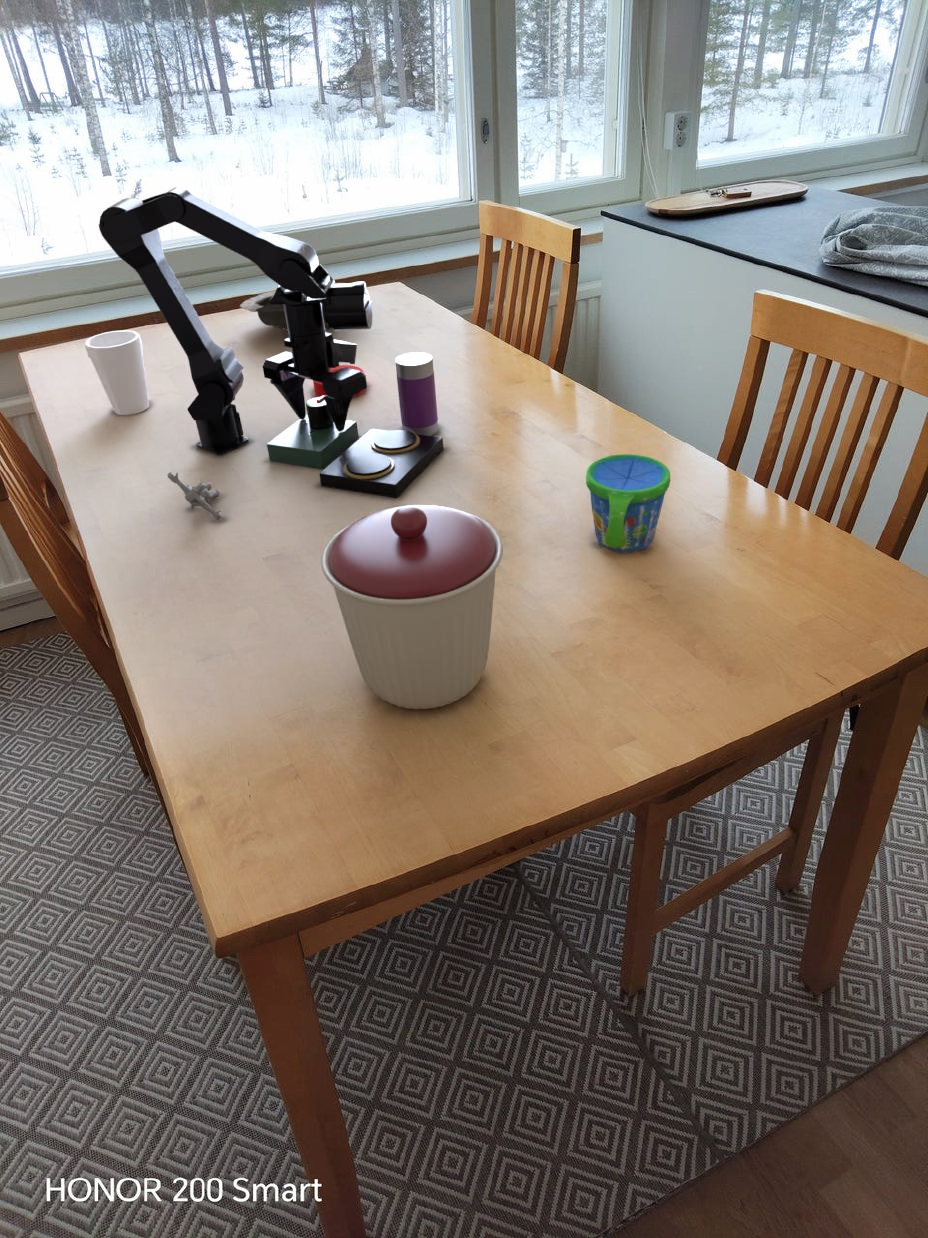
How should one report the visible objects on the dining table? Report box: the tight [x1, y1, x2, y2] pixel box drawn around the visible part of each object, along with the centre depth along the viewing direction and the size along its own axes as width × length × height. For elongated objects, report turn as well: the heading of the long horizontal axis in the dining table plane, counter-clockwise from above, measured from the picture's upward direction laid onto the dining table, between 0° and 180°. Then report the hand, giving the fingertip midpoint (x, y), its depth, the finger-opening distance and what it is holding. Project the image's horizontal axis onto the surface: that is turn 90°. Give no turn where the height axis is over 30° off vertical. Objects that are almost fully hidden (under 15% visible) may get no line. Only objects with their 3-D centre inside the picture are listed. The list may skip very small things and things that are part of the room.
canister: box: [320, 504, 504, 710], centre depth 94 cm, size 18×18×21 cm
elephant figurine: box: [167, 472, 224, 522], centre depth 133 cm, size 10×6×9 cm
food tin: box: [395, 351, 439, 436], centre depth 150 cm, size 6×6×12 cm
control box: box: [266, 414, 360, 470], centre depth 149 cm, size 10×13×3 cm
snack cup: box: [585, 453, 671, 554], centre depth 118 cm, size 16×10×10 cm
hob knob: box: [305, 396, 334, 430], centre depth 149 cm, size 4×4×4 cm
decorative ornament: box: [312, 364, 367, 398], centre depth 169 cm, size 10×10×3 cm
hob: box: [318, 428, 445, 499], centre depth 142 cm, size 13×17×3 cm
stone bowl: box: [239, 281, 355, 331], centre depth 200 cm, size 25×25×9 cm
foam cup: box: [83, 329, 150, 416], centre depth 165 cm, size 10×9×13 cm
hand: (321, 424), depth 150 cm, fingers open, 9 cm apart
